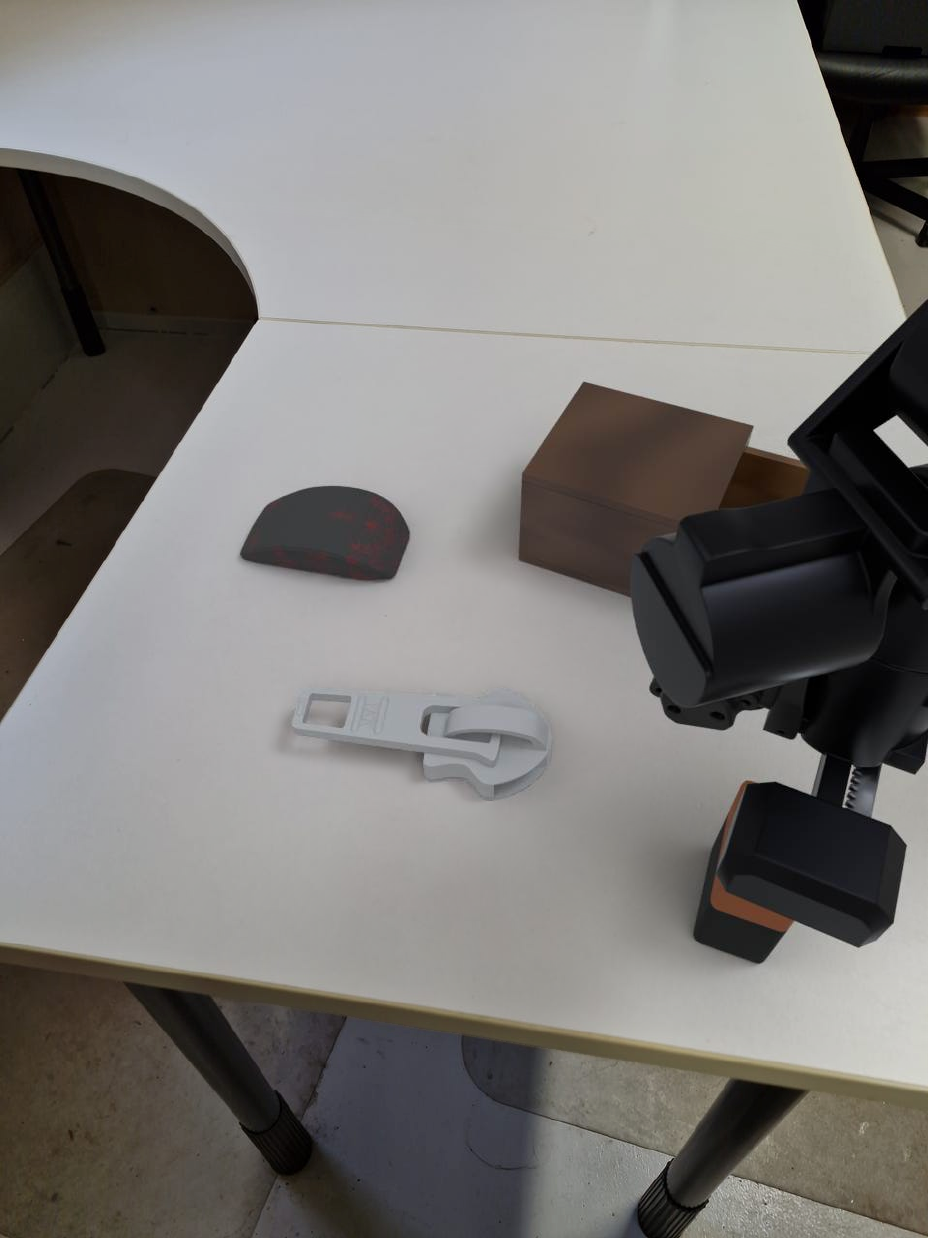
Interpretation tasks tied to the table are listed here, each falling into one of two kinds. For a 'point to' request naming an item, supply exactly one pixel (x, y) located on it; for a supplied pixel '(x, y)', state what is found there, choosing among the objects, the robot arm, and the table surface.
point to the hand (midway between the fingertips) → (791, 809)
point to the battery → (735, 911)
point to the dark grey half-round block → (330, 533)
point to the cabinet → (621, 481)
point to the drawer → (764, 479)
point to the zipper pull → (445, 734)
